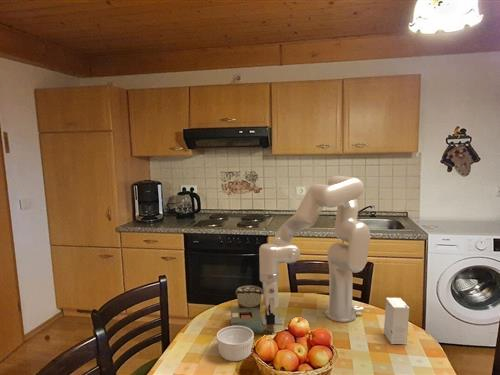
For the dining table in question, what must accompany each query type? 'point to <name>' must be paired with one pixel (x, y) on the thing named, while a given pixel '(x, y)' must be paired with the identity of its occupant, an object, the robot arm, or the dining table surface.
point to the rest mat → (277, 320)
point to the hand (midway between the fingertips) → (270, 321)
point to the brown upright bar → (269, 327)
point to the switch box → (247, 319)
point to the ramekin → (235, 342)
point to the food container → (249, 297)
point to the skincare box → (396, 320)
